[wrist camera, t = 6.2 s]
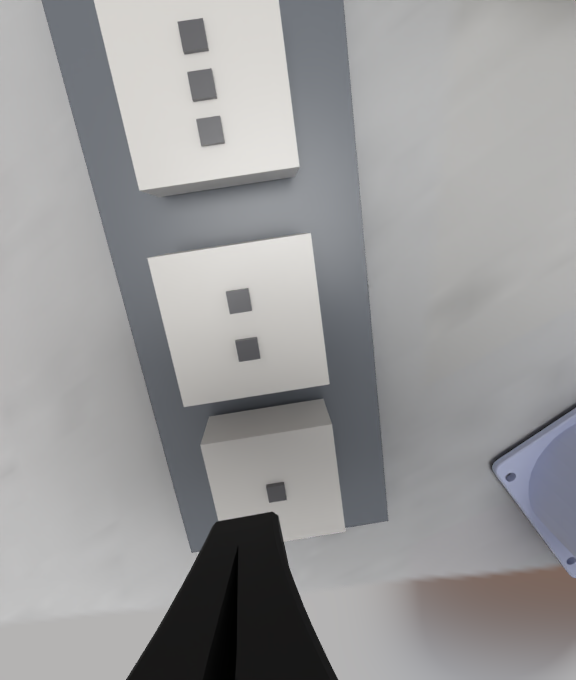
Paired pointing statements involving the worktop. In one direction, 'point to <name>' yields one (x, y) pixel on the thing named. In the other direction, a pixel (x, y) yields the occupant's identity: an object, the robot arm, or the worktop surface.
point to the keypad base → (240, 226)
